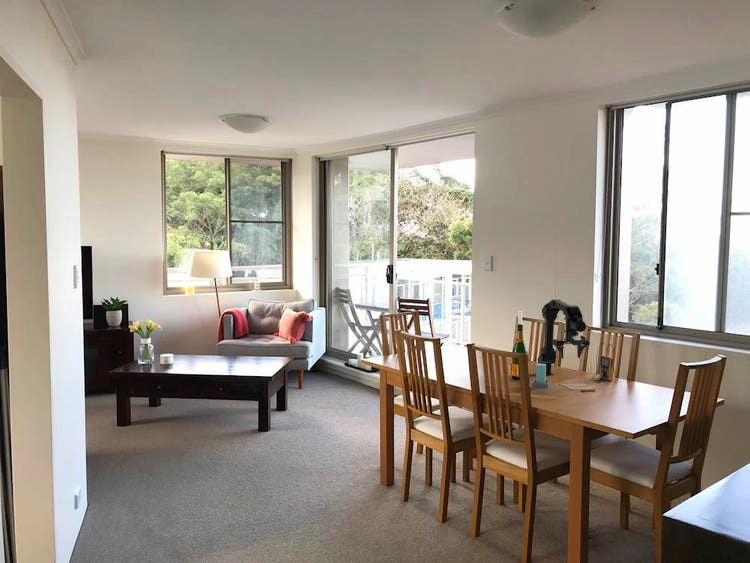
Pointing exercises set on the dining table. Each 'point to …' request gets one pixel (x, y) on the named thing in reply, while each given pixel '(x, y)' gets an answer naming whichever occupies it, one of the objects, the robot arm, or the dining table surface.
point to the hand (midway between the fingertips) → (570, 358)
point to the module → (541, 373)
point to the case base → (541, 385)
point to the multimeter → (606, 366)
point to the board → (578, 387)
